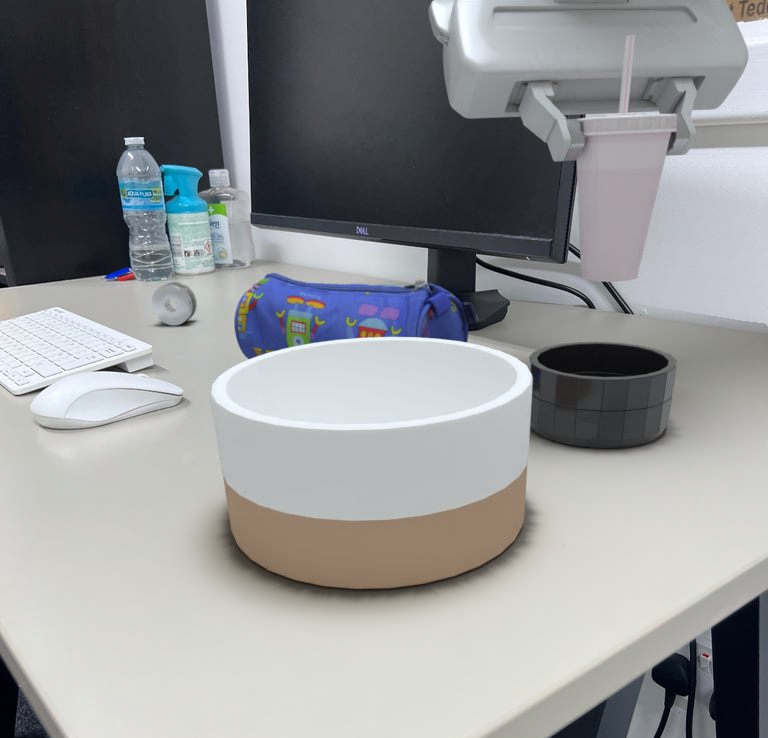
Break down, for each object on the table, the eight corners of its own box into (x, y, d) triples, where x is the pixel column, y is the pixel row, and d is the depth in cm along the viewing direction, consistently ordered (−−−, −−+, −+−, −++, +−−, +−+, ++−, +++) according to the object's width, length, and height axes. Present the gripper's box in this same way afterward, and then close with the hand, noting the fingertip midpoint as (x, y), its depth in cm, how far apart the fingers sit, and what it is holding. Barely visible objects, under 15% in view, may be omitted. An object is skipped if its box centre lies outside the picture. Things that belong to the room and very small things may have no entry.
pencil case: (479, 383, 65) (482, 272, 60) (431, 411, 58) (430, 289, 54) (291, 356, 76) (281, 261, 71) (233, 377, 69) (219, 274, 65)
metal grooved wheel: (155, 325, 92) (148, 285, 90) (165, 320, 95) (158, 281, 93) (192, 325, 92) (186, 284, 89) (201, 320, 94) (195, 280, 92)
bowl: (449, 626, 32) (450, 453, 28) (166, 545, 40) (137, 400, 36) (563, 481, 45) (574, 349, 42) (334, 441, 53) (325, 327, 49)
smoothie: (646, 268, 52) (673, 38, 46) (668, 284, 46) (704, 23, 40) (555, 270, 53) (570, 44, 46) (567, 286, 47) (585, 30, 41)
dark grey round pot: (620, 397, 60) (627, 336, 57) (696, 439, 51) (708, 369, 49) (505, 411, 58) (507, 349, 55) (563, 457, 49) (569, 386, 47)
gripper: (432, -59, 44) (485, 113, 40) (722, -55, 48) (797, 102, 44) (413, 37, 50) (458, 196, 46) (673, 33, 54) (736, 179, 50)
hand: (627, 150), depth 45 cm, fingers closed on smoothie, 6 cm apart
